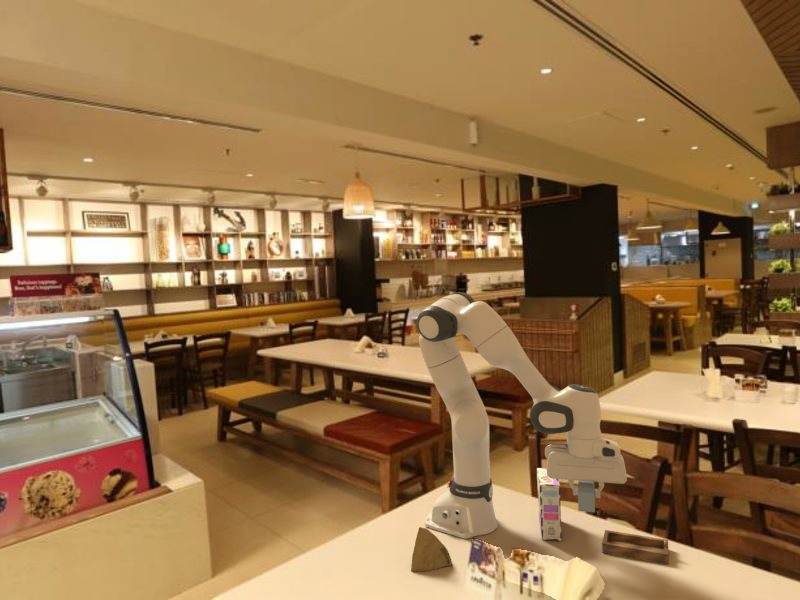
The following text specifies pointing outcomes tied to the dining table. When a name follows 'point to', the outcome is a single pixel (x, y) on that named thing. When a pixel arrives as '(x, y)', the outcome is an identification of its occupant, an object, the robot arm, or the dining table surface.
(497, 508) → the dining table surface
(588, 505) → the key block
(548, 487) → the candy box
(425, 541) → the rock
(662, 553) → the open wooden box
